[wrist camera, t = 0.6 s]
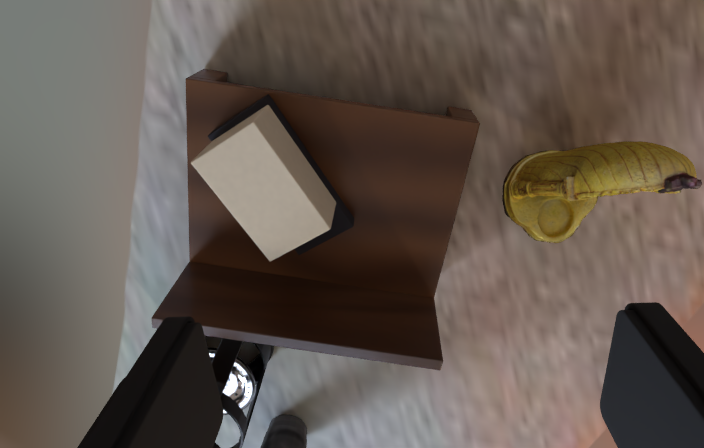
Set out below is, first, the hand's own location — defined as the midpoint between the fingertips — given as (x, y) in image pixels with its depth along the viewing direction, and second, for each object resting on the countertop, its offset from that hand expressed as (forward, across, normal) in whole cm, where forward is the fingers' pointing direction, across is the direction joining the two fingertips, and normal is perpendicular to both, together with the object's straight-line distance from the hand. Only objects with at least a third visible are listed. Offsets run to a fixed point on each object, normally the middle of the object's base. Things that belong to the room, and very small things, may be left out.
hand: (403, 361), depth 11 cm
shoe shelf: (+32, +6, +8) cm, 33 cm away
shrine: (+32, -14, +7) cm, 35 cm away
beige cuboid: (+28, +8, +5) cm, 30 cm away
